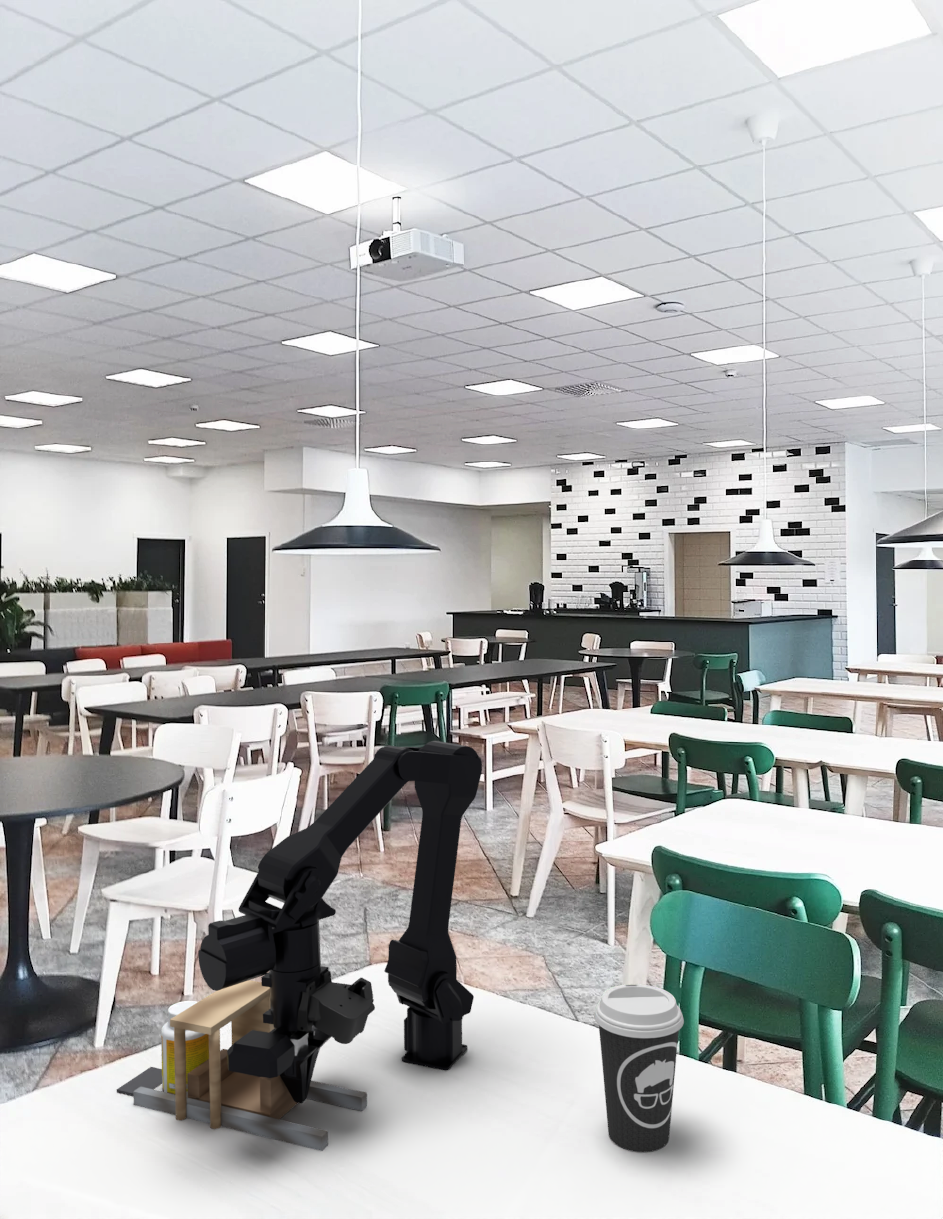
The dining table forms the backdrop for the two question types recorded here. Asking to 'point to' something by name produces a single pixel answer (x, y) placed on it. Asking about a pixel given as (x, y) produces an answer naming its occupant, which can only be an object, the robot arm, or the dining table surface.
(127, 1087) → the pad
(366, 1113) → the dining table surface
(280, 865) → the robot arm
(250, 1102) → the sled
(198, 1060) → the supplement bottle
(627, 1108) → the coffee cup
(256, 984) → the tunnel track
